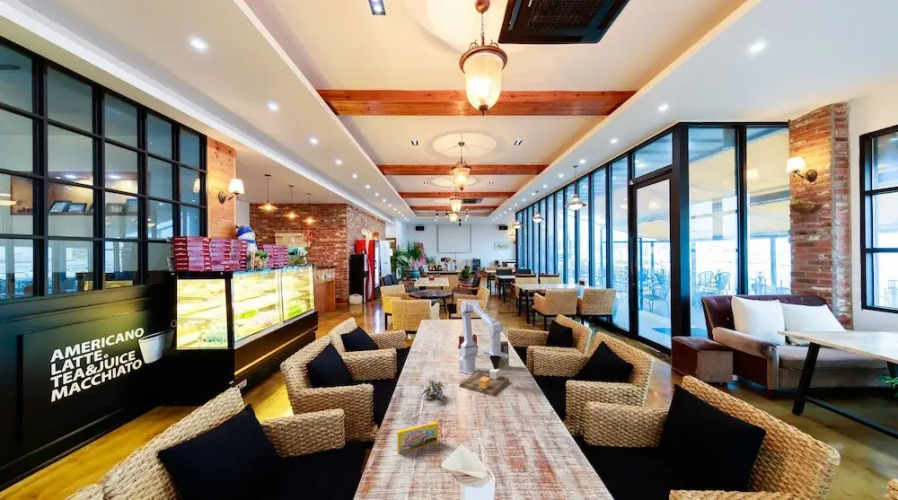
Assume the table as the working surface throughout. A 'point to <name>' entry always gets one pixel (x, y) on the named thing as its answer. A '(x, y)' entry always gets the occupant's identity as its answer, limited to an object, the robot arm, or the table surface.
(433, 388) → the passion flower
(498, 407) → the table surface
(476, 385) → the console
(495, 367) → the robot arm
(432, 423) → the candy box
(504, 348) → the coffee box
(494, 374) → the white fader
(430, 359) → the table surface
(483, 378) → the orange fader
